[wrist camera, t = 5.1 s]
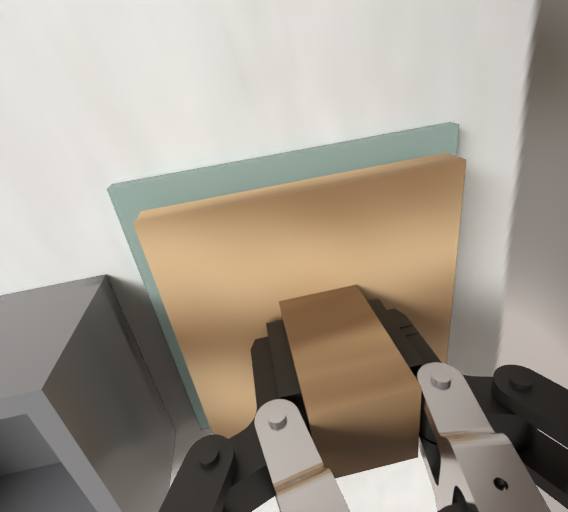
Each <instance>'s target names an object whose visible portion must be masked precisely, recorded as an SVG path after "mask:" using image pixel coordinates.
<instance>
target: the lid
mask: <svg viewBox="0 0 568 512" xmlns="http://www.w3.org/2000/svg"><path fill="white" fill-rule="evenodd" d="M465 168H466V160H465V159H463V158H460V157H457V156H454V155H452V154H449V153H441V154H436V155H431V156H426V157H420V158H415V159H410V160H405V161H400V162H394V163H389V164H384V165H379V166H374V167H368V168H363V169H358V170H353V171H348V172H342V173H337V174H332V175H327V176H322V177H316V178H311V179H306V180H301V181H296V182H290V183H285V184H280V185H275V186H269V187H264V188H259V189H254V190H249V191H243V192H238V193H233V194H228V195H223V196H217V197H212V198H207V199H202V200H197V201H191V202H186V203H181V204H176V205H171V206H165V207H160V208H155V209H150V210H145V211H141V212H140V214H139V215H138V217H137V219H136V221H135V223H134V227H135V230H136V233H137V235H138V238H139V241H140V243H141V246H142V248H143V251H144V254H145V256H146V259H147V262H148V264H149V267H150V270H151V272H152V275H153V277H154V280H155V283H156V285H157V288H158V291H159V293H160V296H161V299H162V301H163V304H164V307H165V309H166V312H167V314H168V317H169V320H170V322H171V325H172V328H173V330H174V333H175V336H176V338H177V341H178V343H179V346H180V349H181V351H182V354H183V357H184V359H185V362H186V365H187V367H188V370H189V372H190V375H191V378H192V380H193V383H194V386H195V388H196V391H197V394H198V396H199V399H200V402H201V404H202V407H203V409H204V412H205V415H206V417H207V420H208V423H209V425H210V428H211V431H212V433H213V435H215V434H216V435H222V436H224V437H226V438H227V439H229V438H231V437H233V436H234V435H236V434H238V433H239V432H241V431H243V430H244V429H245V428H246V427H248V425H249V424H250V423H251V422H252V420H253V419H254V417H255V414H256V410H257V403H256V395H255V386H254V377H253V368H252V359H251V351H250V350H251V348H252V345H253V343H254V340H255V339H259V338H263V337H268V332H267V327H266V323H268V322H272V321H277V320H281V319H283V322H284V326H285V330H286V334H287V338H288V342H289V346H290V349H291V353H292V357H293V361H294V365H295V369H296V373H297V377H298V381H299V385H300V389H301V393H302V398H303V404H304V410H305V415H306V421H307V427H308V432H309V434H310V436H311V438H312V440H313V442H314V445H315V447H316V449H317V451H318V453H319V455H320V457H321V460H322V462H323V464H324V465H325V467H326V466H327V467H328V468H329V469H330V471H331V472H332V474H333V476H334V478H339V477H343V476H346V475H350V474H354V473H358V472H362V471H366V470H370V469H374V468H378V467H382V466H386V465H390V464H394V463H397V462H401V461H405V460H409V459H413V458H417V457H418V446H419V428H420V410H421V392H422V387H421V385H420V384H419V382H418V380H417V379H416V377H415V376H414V374H413V373H412V371H411V369H410V368H409V366H408V365H407V363H406V362H405V360H404V358H403V357H402V355H401V354H400V352H399V351H398V349H397V347H396V346H395V344H394V343H393V341H392V340H391V338H390V336H389V335H388V333H387V332H386V330H385V329H384V327H383V325H382V324H381V322H380V321H379V319H378V318H377V316H376V314H375V313H374V311H373V310H372V308H371V307H370V305H369V303H368V302H367V301H369V300H373V299H379V300H380V301H381V302H382V304H383V305H384V307H385V308H386V309H387V310H390V309H394V308H395V309H397V310H398V311H400V312H401V313H403V314H405V315H406V316H407V317H408V319H409V320H410V321H411V322H412V324H413V326H415V328H416V329H417V330H418V332H419V334H421V336H422V337H423V338H424V340H425V341H426V342H427V344H428V345H429V346H430V348H431V349H432V350H433V352H434V353H435V354H436V355H437V357H438V358H439V359H440V361H441V362H442V363H445V364H446V362H447V352H448V341H449V331H450V321H451V311H452V301H453V291H454V280H455V270H456V260H457V250H458V240H459V229H460V219H461V209H462V199H463V189H464V179H465Z"/></svg>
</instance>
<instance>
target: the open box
mask: <svg viewBox="0 0 568 512" xmlns="http://www.w3.org/2000/svg"><path fill="white" fill-rule="evenodd" d="M175 438H176V431H175V429H174V427H173V424H172V422H171V420H170V418H169V415H168V413H167V411H166V409H165V406H164V404H163V402H162V400H161V397H160V395H159V393H158V391H157V388H156V386H155V384H154V382H153V379H152V377H151V375H150V373H149V370H148V368H147V366H146V364H145V361H144V359H143V357H142V355H141V352H140V350H139V348H138V346H137V343H136V341H135V339H134V337H133V334H132V332H131V330H130V328H129V325H128V323H127V321H126V319H125V316H124V314H123V312H122V310H121V307H120V305H119V303H118V301H117V298H116V296H115V294H114V292H113V289H112V287H111V285H110V283H109V280H108V278H107V276H106V275H101V276H96V277H91V278H86V279H82V280H77V281H72V282H67V283H62V284H57V285H52V286H47V287H42V288H37V289H32V290H27V291H22V292H17V293H12V294H7V295H2V296H0V512H158V511H159V509H160V507H161V505H162V503H163V501H164V499H165V497H166V495H167V493H168V491H169V487H170V479H171V471H172V462H173V454H174V446H175Z"/></svg>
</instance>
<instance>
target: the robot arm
mask: <svg viewBox="0 0 568 512" xmlns="http://www.w3.org/2000/svg"><path fill="white" fill-rule="evenodd" d="M367 302H368V303H369V305H370V307H371V308H372V310H373V311H374V313H375V314H376V316H377V318H378V319H379V321H380V322H381V324H382V325H383V327H384V329H385V330H386V332H387V333H388V335H389V336H390V338H391V340H392V341H393V343H394V344H395V346H396V347H397V349H398V351H399V352H400V354H401V355H402V357H403V358H404V360H405V362H406V363H407V365H408V366H409V368H410V369H411V371H412V373H413V374H414V376H415V377H416V379H417V380H418V382H419V384H420V385H421V387H422V392H421V410H420V428H419V448H420V451H421V454H422V457H423V460H424V463H425V466H426V469H427V472H428V475H429V478H430V481H431V484H432V487H433V491H434V494H435V499H436V507H437V512H551V511H550V509H549V507H548V506H547V504H546V502H545V500H544V499H543V497H542V495H541V493H540V492H539V490H538V488H537V487H536V485H537V486H538V487H540V488H541V489H542V490H543V491H545V492H546V493H548V494H549V495H550V496H551V497H553V498H554V499H555V500H557V501H558V502H559V503H561V504H562V505H563V506H564V507H566V508H567V509H568V449H566V448H565V447H567V448H568V389H566V388H564V387H562V386H560V385H558V384H557V383H554V382H553V381H551V380H549V379H547V378H545V377H543V376H542V375H540V374H538V373H536V372H534V371H532V370H531V369H528V368H525V367H523V366H518V365H504V366H501V367H499V368H498V369H496V371H495V372H494V376H493V377H478V376H466V375H462V374H461V372H460V371H458V370H457V369H456V368H454V367H453V366H450V365H448V364H445V363H442V362H441V361H440V359H439V358H438V357H437V355H436V354H435V353H434V352H433V350H432V349H431V348H430V346H429V345H428V344H427V342H426V341H425V340H424V338H423V337H422V336H421V334H419V332H418V330H417V329H416V328H415V326H413V324H412V322H411V321H410V320H409V319H408V317H407V316H406V315H405V314H403V313H401V312H400V311H398V310H397V309H395V308H394V309H390V310H387V309H386V308H385V307H384V305H383V304H382V302H381V301H380V300H379V299H373V300H369V301H367ZM266 327H267V332H268V337H263V338H259V339H255V340H254V343H253V345H252V348H251V350H250V351H251V359H252V368H253V377H254V386H255V395H256V403H257V410H256V414H255V417H254V419H253V420H252V422H251V423H250V424H249V425H248V427H246V428H245V429H244V430H243V431H241V432H239V433H238V434H236V435H234V436H233V437H231V438H229V439H227V438H226V437H224V436H222V435H216V434H215V435H209V436H206V437H203V438H202V439H200V440H198V441H197V442H196V443H195V444H194V445H193V446H192V447H191V448H190V450H189V451H188V453H187V455H186V457H185V459H184V461H183V463H182V465H181V467H180V469H179V471H178V473H177V475H176V477H175V479H174V481H173V483H172V485H171V487H170V489H169V491H168V493H167V495H166V497H165V499H164V501H163V503H162V505H161V507H160V509H159V511H158V512H252V511H253V510H255V509H256V508H257V507H259V506H260V505H262V504H263V503H265V502H266V501H268V500H269V499H271V498H272V497H274V496H275V497H276V500H277V503H278V506H279V510H280V512H350V510H349V508H348V506H347V504H346V501H345V499H344V497H343V495H342V493H341V491H340V489H339V487H338V485H337V482H336V480H335V478H334V476H333V474H332V472H331V471H330V469H329V468H328V467H327V466H326V467H325V465H324V464H323V462H322V460H321V457H320V455H319V453H318V451H317V449H316V447H315V445H314V442H313V440H312V438H311V436H310V434H309V432H308V427H307V421H306V415H305V410H304V404H303V398H302V393H301V389H300V385H299V381H298V377H297V373H296V369H295V365H294V361H293V357H292V353H291V349H290V346H289V342H288V338H287V334H286V330H285V326H284V322H283V319H281V320H277V321H272V322H268V323H266ZM538 429H539V430H541V431H542V432H544V433H546V434H547V435H549V436H550V437H552V438H553V439H555V440H556V441H558V442H559V443H561V444H562V445H564V446H565V447H563V446H561V445H560V444H558V443H557V442H555V441H554V440H552V439H551V438H549V437H548V436H546V435H544V434H543V433H542V432H540V431H539V430H538ZM535 484H536V485H535Z"/></svg>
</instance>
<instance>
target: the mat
mask: <svg viewBox="0 0 568 512" xmlns="http://www.w3.org/2000/svg"><path fill="white" fill-rule="evenodd" d="M458 130H459V124H456V123H451V122H449V123H443V124H438V125H432V126H427V127H422V128H416V129H411V130H405V131H400V132H394V133H389V134H383V135H378V136H372V137H367V138H362V139H356V140H351V141H345V142H340V143H334V144H329V145H323V146H318V147H313V148H307V149H302V150H296V151H291V152H285V153H280V154H274V155H269V156H264V157H258V158H253V159H247V160H242V161H236V162H231V163H225V164H220V165H214V166H209V167H204V168H198V169H193V170H187V171H182V172H176V173H171V174H165V175H160V176H155V177H149V178H144V179H138V180H133V181H127V182H122V183H116V184H111V185H110V186H109V187H108V189H107V191H108V193H109V196H110V198H111V201H112V203H113V206H114V209H115V211H116V214H117V216H118V219H119V221H120V224H121V226H122V229H123V232H124V234H125V237H126V239H127V242H128V244H129V247H130V249H131V252H132V255H133V257H134V260H135V262H136V265H137V267H138V270H139V272H140V275H141V278H142V280H143V283H144V285H145V288H146V290H147V293H148V295H149V298H150V301H151V303H152V306H153V308H154V311H155V313H156V316H157V318H158V321H159V324H160V326H161V329H162V331H163V334H164V336H165V339H166V341H167V344H168V347H169V349H170V352H171V354H172V357H173V359H174V362H175V364H176V367H177V370H178V372H179V375H180V377H181V380H182V382H183V385H184V387H185V390H186V393H187V395H188V398H189V400H190V403H191V405H192V408H193V410H194V413H195V416H196V418H197V421H198V423H199V426H200V428H201V430H202V429H206V428H210V425H209V423H208V420H207V417H206V415H205V412H204V409H203V407H202V404H201V402H200V399H199V396H198V394H197V391H196V388H195V386H194V383H193V380H192V378H191V375H190V372H189V370H188V367H187V365H186V362H185V359H184V357H183V354H182V351H181V349H180V346H179V343H178V341H177V338H176V336H175V333H174V330H173V328H172V325H171V322H170V320H169V317H168V314H167V312H166V309H165V307H164V304H163V301H162V299H161V296H160V293H159V291H158V288H157V285H156V283H155V280H154V277H153V275H152V272H151V270H150V267H149V264H148V262H147V259H146V256H145V254H144V251H143V248H142V246H141V243H140V241H139V238H138V235H137V233H136V230H135V227H134V223H135V221H136V219H137V217H138V215H139V214H140V212H141V211H145V210H150V209H155V208H160V207H165V206H171V205H176V204H181V203H186V202H191V201H197V200H202V199H207V198H212V197H217V196H223V195H228V194H233V193H238V192H243V191H249V190H254V189H259V188H264V187H269V186H275V185H280V184H285V183H290V182H296V181H301V180H306V179H311V178H316V177H322V176H327V175H332V174H337V173H342V172H348V171H353V170H358V169H363V168H368V167H374V166H379V165H384V164H389V163H394V162H400V161H405V160H410V159H415V158H420V157H426V156H431V155H436V154H441V153H449V154H452V155H454V156H456V154H457V142H458Z"/></svg>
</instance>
